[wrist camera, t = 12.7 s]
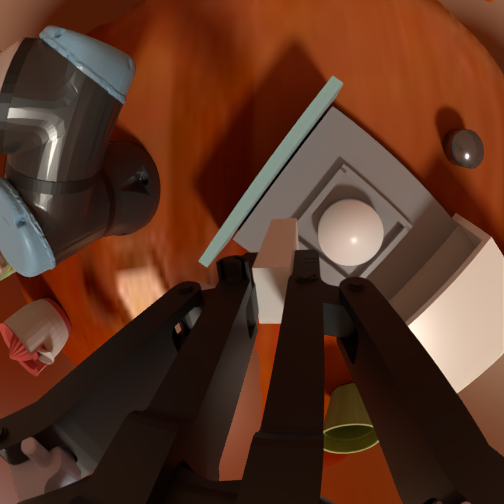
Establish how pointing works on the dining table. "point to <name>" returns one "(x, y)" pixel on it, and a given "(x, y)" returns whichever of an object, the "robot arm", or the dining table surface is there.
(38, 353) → the citrus juicer
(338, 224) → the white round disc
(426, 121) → the dining table surface
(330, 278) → the drawer
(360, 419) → the plant pot
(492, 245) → the white drawer box
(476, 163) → the grey knob
